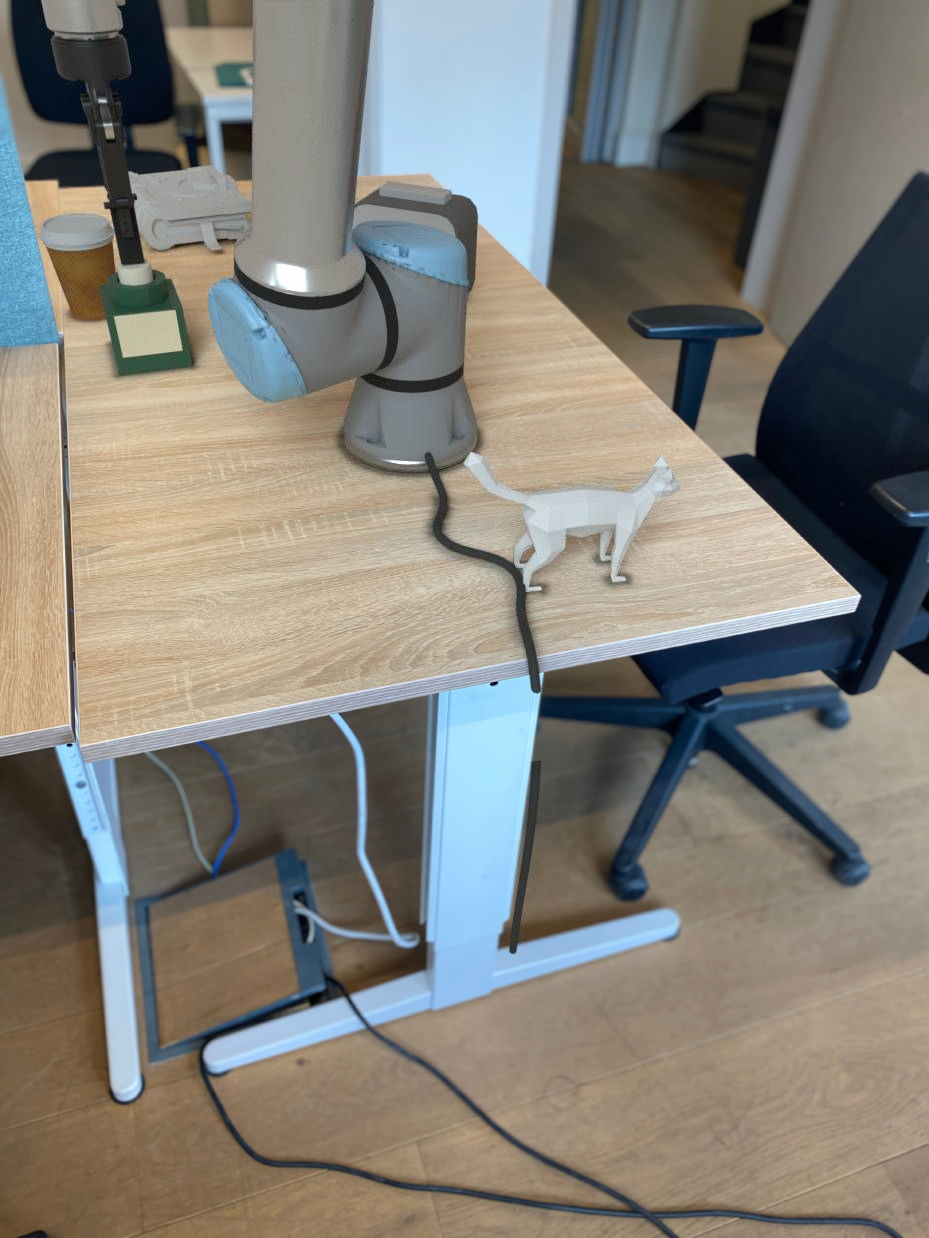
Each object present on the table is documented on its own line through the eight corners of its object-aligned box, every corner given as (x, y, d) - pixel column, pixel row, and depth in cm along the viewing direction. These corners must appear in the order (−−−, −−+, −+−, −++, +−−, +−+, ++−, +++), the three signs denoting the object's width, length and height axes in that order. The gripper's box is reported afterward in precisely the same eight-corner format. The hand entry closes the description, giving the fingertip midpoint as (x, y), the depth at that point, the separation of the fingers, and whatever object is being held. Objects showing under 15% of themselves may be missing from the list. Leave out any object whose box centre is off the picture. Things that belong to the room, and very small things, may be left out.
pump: (155, 287, 111) (152, 267, 109) (121, 290, 109) (117, 271, 108) (151, 275, 113) (148, 256, 112) (118, 278, 112) (114, 259, 111)
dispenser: (192, 367, 115) (179, 289, 109) (119, 376, 113) (101, 297, 106) (181, 335, 122) (168, 261, 116) (111, 343, 120) (94, 267, 113)
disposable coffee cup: (143, 304, 130) (126, 217, 122) (106, 329, 123) (85, 239, 115) (85, 295, 132) (64, 208, 124) (45, 319, 125) (20, 229, 117)
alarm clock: (351, 302, 133) (346, 190, 123) (381, 276, 142) (378, 169, 132) (455, 320, 130) (459, 206, 120) (479, 293, 138) (485, 184, 128)
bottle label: (182, 350, 114) (175, 310, 110) (123, 358, 111) (114, 316, 108) (182, 350, 114) (175, 309, 110) (122, 357, 111) (113, 316, 108)
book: (153, 264, 142) (144, 213, 137) (115, 212, 161) (105, 165, 156) (271, 248, 149) (266, 199, 144) (221, 200, 168) (215, 155, 163)
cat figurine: (669, 579, 86) (699, 448, 76) (463, 600, 82) (469, 466, 73) (652, 551, 89) (680, 423, 80) (453, 570, 85) (458, 438, 76)
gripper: (131, 43, 91) (171, 277, 106) (118, 22, 100) (157, 241, 115) (52, 45, 89) (105, 284, 104) (46, 23, 98) (95, 246, 113)
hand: (132, 261), depth 110 cm, fingers closed
